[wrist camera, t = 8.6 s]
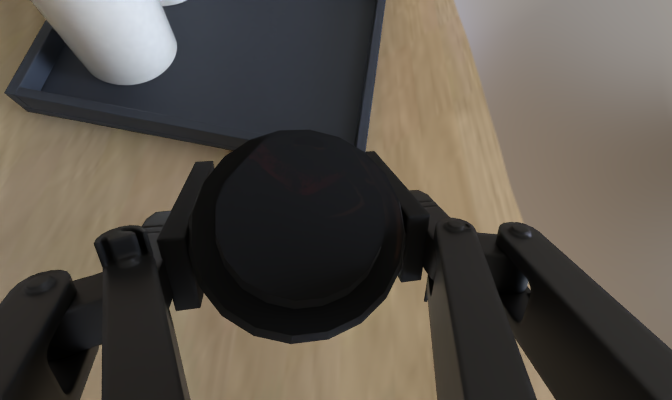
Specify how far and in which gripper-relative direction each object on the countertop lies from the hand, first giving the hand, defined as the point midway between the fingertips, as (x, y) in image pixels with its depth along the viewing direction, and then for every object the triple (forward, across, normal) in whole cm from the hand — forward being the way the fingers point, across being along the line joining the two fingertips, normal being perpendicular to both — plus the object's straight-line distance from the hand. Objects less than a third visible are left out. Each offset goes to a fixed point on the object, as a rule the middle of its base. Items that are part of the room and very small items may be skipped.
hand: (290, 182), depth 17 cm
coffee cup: (0, 0, -5) cm, 5 cm away
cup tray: (+17, -4, +6) cm, 19 cm away
